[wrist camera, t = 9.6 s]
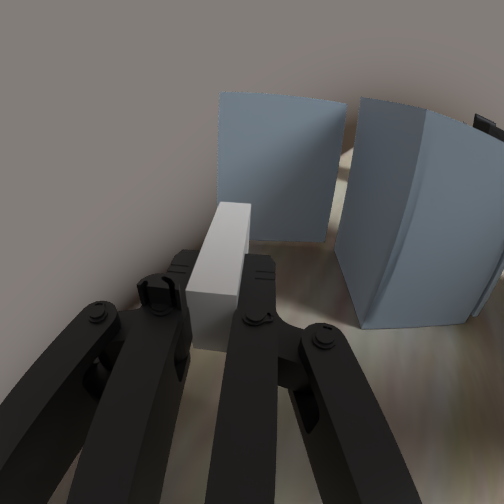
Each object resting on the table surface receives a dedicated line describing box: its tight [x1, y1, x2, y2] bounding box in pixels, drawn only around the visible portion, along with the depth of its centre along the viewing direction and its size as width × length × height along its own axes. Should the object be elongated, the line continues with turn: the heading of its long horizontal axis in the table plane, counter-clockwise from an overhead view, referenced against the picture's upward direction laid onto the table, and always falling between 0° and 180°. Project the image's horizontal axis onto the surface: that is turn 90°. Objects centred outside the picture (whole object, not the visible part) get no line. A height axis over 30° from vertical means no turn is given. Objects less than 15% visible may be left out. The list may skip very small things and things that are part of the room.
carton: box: [334, 97, 504, 329], centre depth 18 cm, size 11×10×14 cm
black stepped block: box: [473, 114, 504, 142], centre depth 62 cm, size 23×11×24 cm, turn 168°
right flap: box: [217, 92, 347, 242], centre depth 22 cm, size 10×1×12 cm, turn 93°
